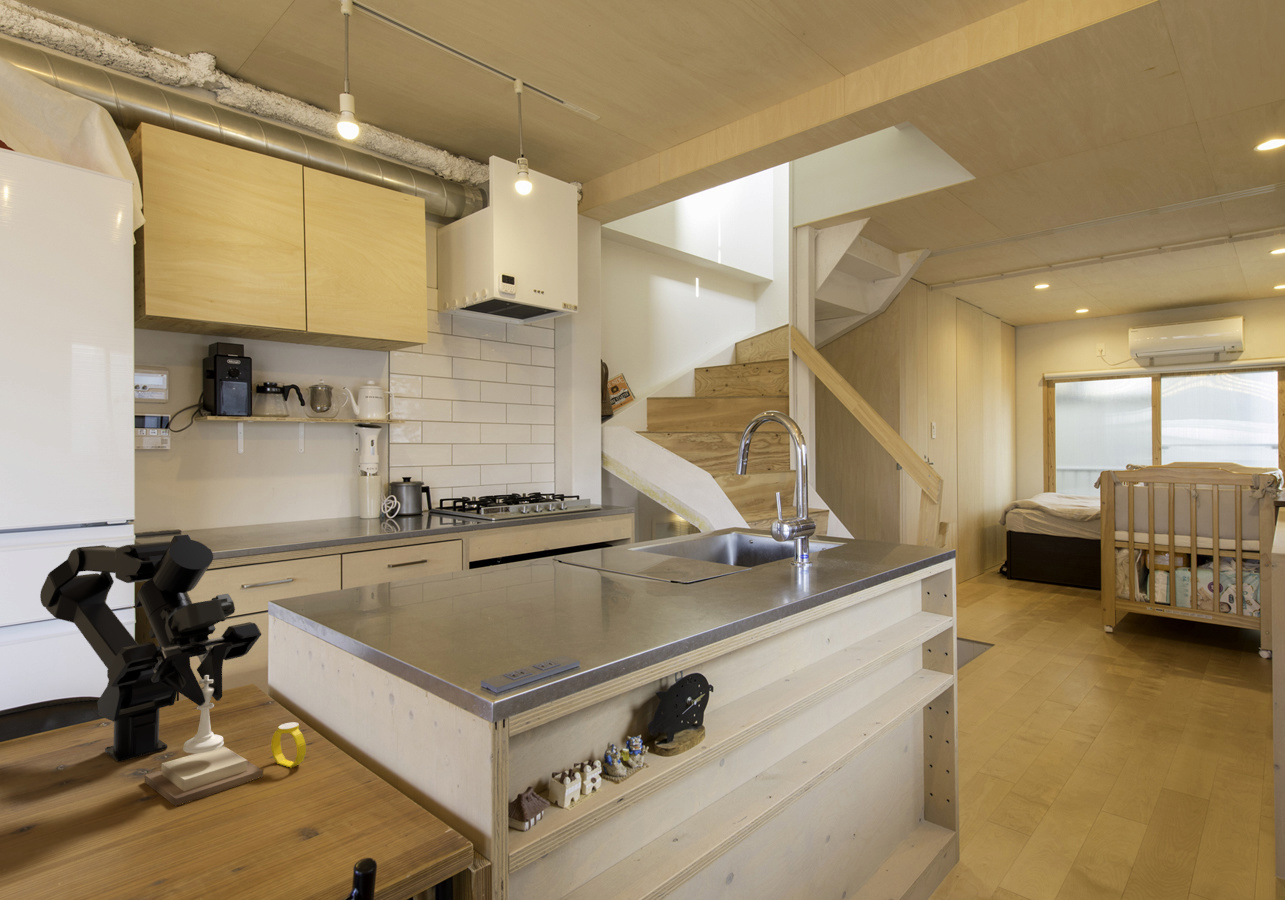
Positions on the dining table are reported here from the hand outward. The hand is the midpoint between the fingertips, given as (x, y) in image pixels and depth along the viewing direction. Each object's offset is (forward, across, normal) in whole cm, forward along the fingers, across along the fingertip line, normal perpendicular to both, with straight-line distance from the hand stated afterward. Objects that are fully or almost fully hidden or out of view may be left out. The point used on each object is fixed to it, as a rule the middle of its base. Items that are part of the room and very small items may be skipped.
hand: (211, 701), depth 99 cm
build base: (+7, 0, +9) cm, 11 cm away
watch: (+11, +9, +5) cm, 15 cm away
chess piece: (+4, 0, +6) cm, 7 cm away
